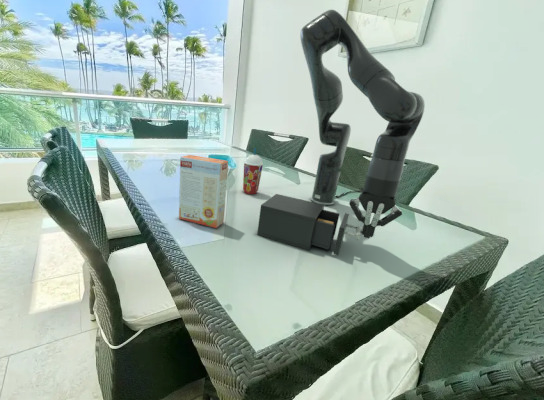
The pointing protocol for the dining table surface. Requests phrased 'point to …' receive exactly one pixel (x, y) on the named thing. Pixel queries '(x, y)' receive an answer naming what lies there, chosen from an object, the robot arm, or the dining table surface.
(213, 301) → the dining table surface
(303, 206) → the cabinet
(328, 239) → the drawer
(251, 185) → the smoothie
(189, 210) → the cracker box
